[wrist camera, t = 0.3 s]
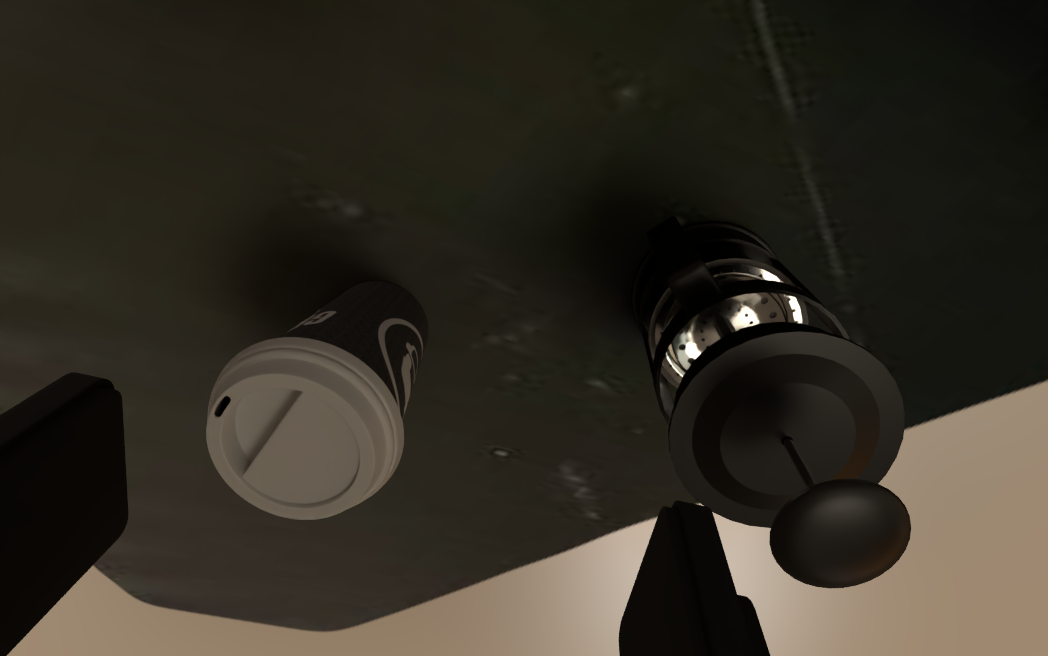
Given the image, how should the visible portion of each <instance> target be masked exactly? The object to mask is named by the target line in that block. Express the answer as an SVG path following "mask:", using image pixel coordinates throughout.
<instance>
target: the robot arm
mask: <svg viewBox="0 0 1048 656" xmlns="http://www.w3.org/2000/svg"><path fill="white" fill-rule="evenodd" d="M127 520H128V500H127V481H126V463H125V445H124V426H123V408H122V397H121V394H120V392H119V391H117V390H114V386H113V384H112V382H111V381H109V380H107V379H103V378H99V377H94V376H89V375H85V374H80V373H69V374H66V375H64V376H63V377H61V378H59V379H58V380H56V381H55V382H53V383H51V384H50V385H48V386H47V387H45V388H43V389H42V390H40V391H39V392H37V393H35V394H34V395H32V396H30V397H29V398H27V399H26V400H24V401H22V402H21V403H19V404H18V405H16V406H14V407H13V408H11V409H9V410H8V411H6V412H5V413H3V414H1V415H0V656H7V654H9V652H10V651H11V650H12V649H13V648H14V647H15V646H16V645H17V644H18V643H19V642H20V641H21V640H22V639H23V638H24V637H25V636H26V635H27V633H29V632H30V630H31V629H32V628H33V627H34V626H35V625H36V624H37V623H38V622H39V621H40V620H41V619H42V618H43V617H44V616H45V615H46V614H47V613H48V612H49V610H50V609H51V608H52V607H53V606H54V605H55V604H56V603H57V602H58V601H59V600H60V599H61V598H62V597H63V596H64V595H65V594H66V593H67V591H69V590H70V588H71V587H72V586H73V585H74V584H75V583H76V582H77V581H78V580H79V579H80V578H81V577H82V576H83V575H84V574H85V573H86V572H87V571H88V569H90V568H91V566H92V565H93V564H94V563H95V562H96V561H97V560H98V559H99V558H100V557H101V556H102V555H103V554H104V553H105V552H106V551H107V550H108V549H109V548H110V547H111V546H112V544H113V543H114V542H115V541H116V540H117V539H118V538H119V537H120V536H121V534H122V533H123V531H124V529H125V527H126V524H127ZM619 652H620V656H770V654H769V650H768V647H767V644H766V641H765V638H764V635H763V632H762V629H761V626H760V623H759V620H758V617H757V614H756V610H755V608H754V606H753V604H752V602H751V600H750V599H748V597H745V596H741V595H737V593H736V590H735V586H734V583H733V580H732V576H731V573H730V570H729V566H728V563H727V560H726V556H725V553H724V550H723V546H722V543H721V540H720V536H719V533H718V530H717V526H716V523H715V520H714V517H713V513H712V511H711V509H710V508H709V507H706V506H701V505H696V504H692V503H687V502H682V501H675V502H674V504H673V505H672V508H669V507H662V509H661V510H660V513H659V515H658V518H657V521H656V524H655V527H654V529H653V532H652V535H651V538H650V541H649V544H648V546H647V549H646V552H645V555H644V558H643V561H642V563H641V566H640V570H639V572H638V575H637V578H636V580H635V583H634V586H633V589H632V592H631V595H630V598H629V600H628V603H627V606H626V609H625V611H624V615H623V617H622V621H621V625H620V631H619Z"/></svg>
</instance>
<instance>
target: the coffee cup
mask: <svg viewBox="0 0 1048 656" xmlns="http://www.w3.org/2000/svg"><path fill="white" fill-rule="evenodd" d="M427 337H428V324H427V319H426V316H425V314H424V311H423V309H422V308H421V306H420V304H419V303H418V302H417V301H416V299H415V298H414V297H413V296H412V295H410V294H409V293H408V292H407V291H405V290H404V289H402V288H400V287H398V286H396V285H394V284H391V283H387V282H381V281H369V282H364V283H360V284H358V285H355V286H353V287H352V288H350V289H348V290H347V291H346V292H344V293H343V294H341V295H340V296H338V297H337V298H335V299H334V300H333V301H331V302H330V303H328V304H327V305H325V306H324V307H323V308H321V309H320V310H318V311H317V312H315V313H314V314H312V315H311V316H310V317H308V318H307V319H305V320H304V321H302V322H301V323H299V324H298V325H297V326H295V327H294V328H292V329H291V330H289V331H288V332H286V333H285V334H283V335H282V336H281V337H279V338H274V339H269V340H265V341H262V342H259V343H256V344H254V345H252V346H250V347H248V348H246V349H244V350H243V351H241V352H240V353H238V354H237V355H236V356H235V357H233V358H232V359H231V360H230V361H229V362H228V364H227V365H226V366H225V367H224V369H223V370H222V372H221V373H220V375H219V377H218V379H217V381H216V383H215V386H214V388H213V390H212V393H211V397H210V401H209V407H208V421H207V428H206V438H207V445H208V450H209V453H210V456H211V459H212V461H213V463H214V465H215V467H216V469H217V471H218V472H219V474H220V475H221V477H222V478H223V479H224V481H225V482H226V483H227V484H228V485H229V486H230V487H231V488H232V489H233V490H234V491H235V492H236V493H237V494H238V495H239V496H241V497H242V498H243V499H245V500H246V501H248V502H249V503H251V504H252V505H254V506H256V507H258V508H260V509H262V510H264V511H266V512H269V513H271V514H274V515H277V516H281V517H285V518H290V519H299V520H314V519H322V518H326V517H330V516H333V515H336V514H338V513H341V512H343V511H345V510H346V509H348V508H351V507H353V506H355V505H358V504H359V503H361V502H363V501H364V500H366V499H368V498H369V497H371V496H372V495H373V494H375V493H376V492H377V491H378V490H379V489H380V488H381V487H382V486H383V485H384V484H385V483H386V482H387V481H388V480H389V479H390V477H391V476H392V475H393V473H394V471H395V470H396V468H397V466H398V464H399V461H400V458H401V455H402V451H403V445H404V429H403V422H402V420H403V417H404V413H405V410H406V407H407V403H408V400H409V397H410V394H411V390H412V387H413V384H414V381H415V377H416V374H417V371H418V368H419V365H420V361H421V358H422V355H423V352H424V349H425V345H426V342H427Z"/></svg>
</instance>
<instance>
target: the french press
mask: <svg viewBox="0 0 1048 656" xmlns="http://www.w3.org/2000/svg"><path fill="white" fill-rule="evenodd" d="M647 236H648V238H649V241H650V243H651V246H652V248H651V249H650V250H649V252H648V253H647V254H646V255H645V257H644V258H643V260H642V262H641V263H640V265H639V266H638V269H637V271H636V274H635V277H634V280H633V285H632V292H631V301H632V310H633V314H634V317H635V321H636V323H637V325H638V327H639V329H640V331H641V333H642V335H643V339H644V343H645V347H646V351H647V355H648V360H649V364H650V368H651V372H652V376H653V383H654V388H655V392H656V396H657V399H658V403H659V406H660V410H661V412H662V414H663V416H664V418H665V419H666V421H667V423H668V425H669V430H668V434H669V451H670V454H671V458H672V461H673V465H674V468H675V471H676V473H677V475H678V476H679V478H680V480H681V482H682V484H683V485H684V487H685V488H686V489H687V490H688V491H689V492H690V494H691V495H692V496H693V497H694V498H695V499H696V500H697V501H698V502H700V503H701V504H702V505H704V506H706V507H709V508H710V509H711V511H712V512H714V513H716V514H718V515H720V516H722V517H725V518H727V519H729V520H732V521H735V522H739V523H742V524H746V525H749V526H758V527H768V528H771V531H770V547H771V551H772V554H773V556H774V558H775V560H776V562H777V563H778V564H779V565H780V567H781V568H782V569H783V570H784V571H785V572H786V573H788V574H789V575H790V576H792V577H793V578H795V579H797V580H799V581H801V582H803V583H805V584H809V585H812V586H816V587H823V588H844V587H850V586H855V585H858V584H862V583H865V582H868V581H870V580H872V579H874V578H876V577H878V576H880V575H881V574H883V573H884V572H885V571H887V570H888V569H890V568H891V567H892V566H893V565H894V564H895V563H896V562H897V561H898V560H899V559H900V557H901V556H902V554H903V553H904V551H905V550H906V547H907V545H908V542H909V540H910V532H911V524H910V517H909V514H908V511H907V509H906V507H905V505H904V504H903V503H902V501H901V500H900V499H899V497H897V496H896V495H895V494H894V493H893V492H891V491H890V490H889V489H887V488H885V487H883V486H881V485H879V484H878V483H879V482H880V481H881V480H882V478H883V477H884V476H885V475H886V474H887V472H888V470H889V469H890V467H891V465H892V464H893V462H894V461H895V458H896V457H897V454H898V451H899V448H900V446H901V442H902V440H903V433H904V425H905V413H904V406H903V399H902V397H901V394H900V392H899V389H898V387H897V384H896V382H895V380H894V379H893V377H892V376H891V375H890V373H889V372H888V370H887V369H886V368H885V366H884V365H883V364H882V363H881V362H880V361H879V360H878V359H877V358H875V357H874V356H873V355H872V354H871V353H870V352H868V351H867V350H866V349H865V348H863V347H862V346H860V345H858V344H856V343H854V342H852V341H850V340H849V338H848V336H847V333H846V331H845V330H844V328H843V327H842V326H841V324H840V323H839V321H838V320H837V319H836V317H835V316H834V315H833V314H832V313H831V312H830V311H829V310H828V309H827V308H826V307H825V306H824V305H823V304H822V303H821V302H820V301H819V300H818V299H817V298H816V297H815V296H814V295H813V294H812V293H811V292H810V291H809V290H808V289H807V288H806V287H805V286H804V285H803V284H802V283H801V282H800V281H799V280H798V279H797V278H795V277H794V276H793V275H792V274H791V273H790V272H789V271H788V270H787V269H786V268H785V267H784V266H783V265H782V264H781V263H780V262H779V261H778V259H777V257H776V255H775V254H774V252H773V251H772V249H771V248H770V247H769V245H768V244H767V243H766V242H764V241H763V240H762V239H761V238H760V237H759V236H757V235H756V234H755V233H753V232H751V231H749V230H747V229H746V228H744V227H741V226H738V225H735V224H731V223H728V222H716V221H710V222H700V223H695V224H691V225H688V226H684V227H682V226H681V225H680V223H679V222H678V220H677V218H676V217H675V216H672V217H670V218H668V219H667V220H665V221H664V222H662V223H661V224H659V225H657V226H656V227H654V228H653V229H651V230H649V231H648V232H647ZM706 244H719V245H726V246H729V247H733V248H735V249H737V250H739V251H741V252H743V253H744V254H746V255H747V256H748V257H749V258H750V259H751V260H749V259H738V258H732V259H722V260H715V261H710V262H706V263H704V261H703V260H702V258H701V256H700V255H699V253H698V252H697V250H696V249H695V247H696V246H699V245H706ZM661 271H662V273H663V275H664V278H665V280H666V282H667V284H668V285H669V288H668V289H667V290H666V291H665V292H664V294H663V296H662V297H661V299H660V300H659V302H658V303H657V305H656V308H655V310H654V311H653V306H652V295H653V288H654V285H655V282H656V280H657V277H658V276H659V274H660V272H661ZM804 302H805V303H806V304H807V305H808V306H809V307H810V308H811V310H812V311H813V312H814V313H815V314H816V315H817V316H818V317H819V318H820V319H821V320H822V321H823V322H824V323H825V324H826V325H827V327H828V328H829V329H830V330H831V331H832V332H833V333H834V334H835V335H834V334H831V333H828V332H826V331H824V330H822V329H820V328H816V327H813V326H809V325H808V316H807V310H806V305H805V303H804ZM667 380H668V381H669V382H670V383H671V384H672V385H674V386H675V387H676V388H678V389H677V392H676V397H675V402H674V404H673V400H672V397H671V393H670V390H669V386H668V383H667Z"/></svg>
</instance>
